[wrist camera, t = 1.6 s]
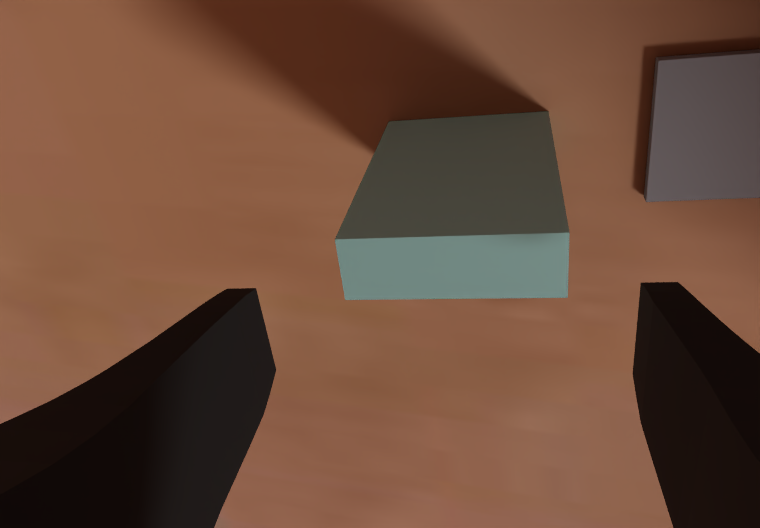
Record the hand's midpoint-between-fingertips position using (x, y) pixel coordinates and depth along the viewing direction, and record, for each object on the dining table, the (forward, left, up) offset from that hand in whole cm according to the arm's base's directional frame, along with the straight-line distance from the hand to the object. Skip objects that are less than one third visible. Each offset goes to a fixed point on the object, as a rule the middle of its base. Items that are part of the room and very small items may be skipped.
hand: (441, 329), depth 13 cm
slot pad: (0, -9, -10) cm, 14 cm away
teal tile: (0, 0, -10) cm, 10 cm away
